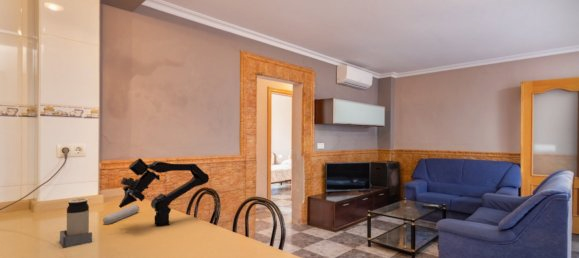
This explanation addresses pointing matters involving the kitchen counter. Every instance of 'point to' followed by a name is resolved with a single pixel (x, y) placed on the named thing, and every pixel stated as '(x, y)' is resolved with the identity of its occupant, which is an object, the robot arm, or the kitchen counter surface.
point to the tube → (120, 214)
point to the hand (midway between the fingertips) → (119, 207)
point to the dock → (74, 239)
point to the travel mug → (77, 217)
